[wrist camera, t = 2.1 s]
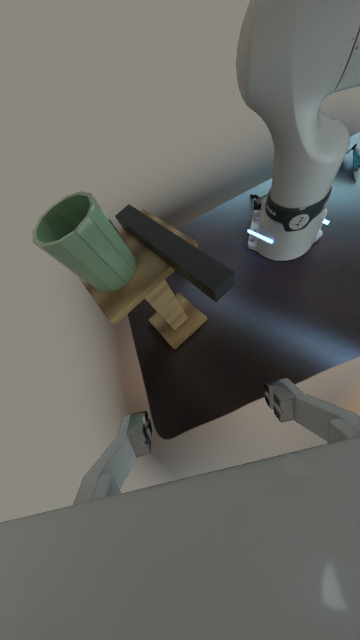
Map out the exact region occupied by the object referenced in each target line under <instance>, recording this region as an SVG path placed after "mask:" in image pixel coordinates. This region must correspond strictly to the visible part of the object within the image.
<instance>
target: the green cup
mask: <svg viewBox="0 0 360 640" xmlns="http://www.w3.org/2000/svg"><path fill="white" fill-rule="evenodd" d="M33 242H34V243H35V244H36V245H37V246H39V247H40V248H41V249H43V250H44V251H45V252H47V253H48V254H49V255H51V256H52V257H53V258H55V259H56V260H57V261H58V262H60V263H61V264H62V265H64V266H65V267H66V268H68V269H69V270H70V271H72V272H73V273H74V274H76V275H77V276H78V277H80V278H81V279H82V280H84V281H85V282H86V283H88V284H89V285H90V286H92V287H93V288H94V289H96V290H98V291H99V292H101V293H110V292H114V291H117V290H119V289H120V288H122V287H124V286H125V285H126V284H128V282H129V281H130V280H131V278H132V277H133V276H134V275H135V273H136V268H137V263H138V261H137V259H136V257H135V255H134V253H133V251H132V250H131V249H130V247H129V246H128V244H127V243H126V242H125V240H124V239H123V237H122V236H121V235H120V233H119V232H118V230H117V229H116V228H115V226H114V225H113V223H112V222H111V221H110V219H109V218H108V216H107V215H106V214H105V212H104V211H103V210H102V208H101V206H100V205H99V204H98V202H97V201H96V200H95V198H94V197H93V195H92V194H91V193H86V192H78V193H74V194H71V195H68V196H66V197H64V198H62V199H61V200H59V201H58V202H56V203H55V204H53V205H52V206H51V207H50V208H49V209H48V210H47V211H46V212H45V213H44V214H43V215H42V216H41V217H40V219H39V220H38V222H37V224H36V226H35V228H34V230H33Z"/></svg>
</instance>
